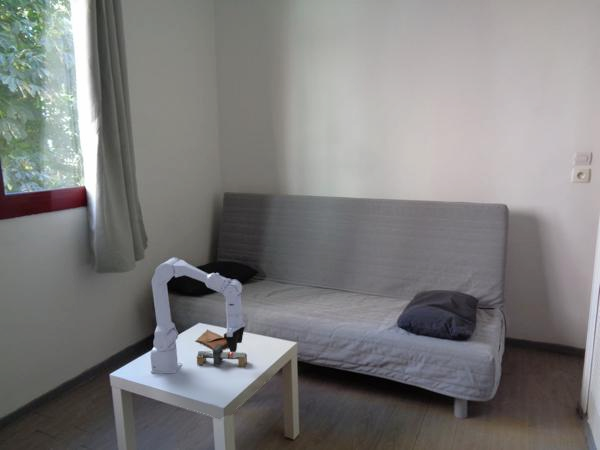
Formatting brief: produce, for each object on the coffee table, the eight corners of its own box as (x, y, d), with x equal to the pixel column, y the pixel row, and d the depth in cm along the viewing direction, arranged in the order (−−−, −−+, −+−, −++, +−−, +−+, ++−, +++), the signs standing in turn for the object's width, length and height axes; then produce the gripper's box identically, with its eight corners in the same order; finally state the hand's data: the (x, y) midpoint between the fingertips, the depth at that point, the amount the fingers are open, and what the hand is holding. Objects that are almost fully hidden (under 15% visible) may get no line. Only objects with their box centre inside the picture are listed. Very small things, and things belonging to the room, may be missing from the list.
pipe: (197, 364, 180) (196, 353, 179) (200, 360, 184) (200, 348, 183) (244, 366, 177) (243, 355, 176) (247, 362, 181) (246, 350, 180)
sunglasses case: (192, 341, 202) (198, 326, 204) (204, 344, 207) (209, 329, 209) (216, 352, 190) (222, 337, 192) (228, 355, 195) (234, 340, 197)
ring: (213, 365, 178) (212, 350, 177) (218, 358, 184) (217, 343, 182) (218, 365, 178) (217, 350, 177) (223, 358, 183) (222, 343, 182)
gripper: (239, 320, 162) (241, 356, 164) (249, 306, 176) (251, 339, 178) (220, 320, 163) (222, 355, 165) (231, 306, 177) (233, 338, 179)
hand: (236, 347), depth 172 cm, fingers open, 7 cm apart
